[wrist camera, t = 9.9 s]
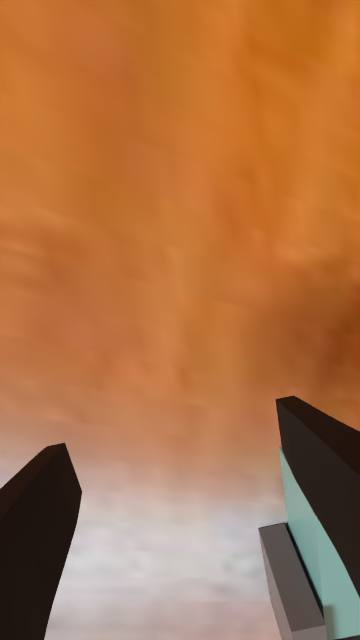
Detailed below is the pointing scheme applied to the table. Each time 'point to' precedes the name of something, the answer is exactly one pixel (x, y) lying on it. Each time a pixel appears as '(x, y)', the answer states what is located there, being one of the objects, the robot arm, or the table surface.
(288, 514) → the plug
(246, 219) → the table surface
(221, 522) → the table surface
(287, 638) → the header
